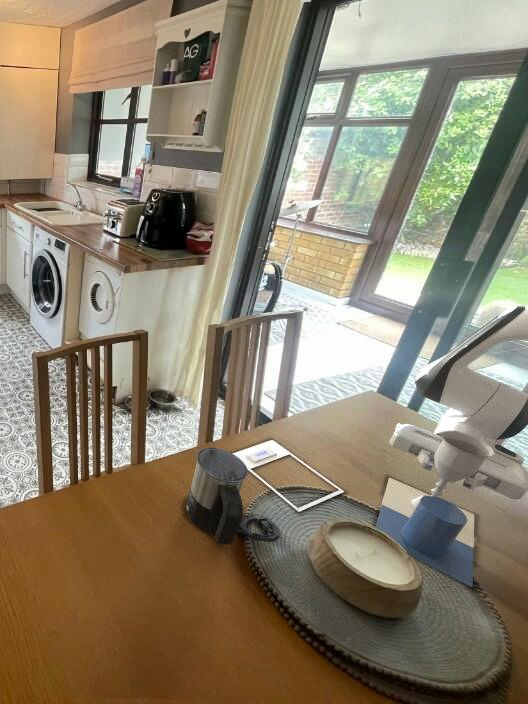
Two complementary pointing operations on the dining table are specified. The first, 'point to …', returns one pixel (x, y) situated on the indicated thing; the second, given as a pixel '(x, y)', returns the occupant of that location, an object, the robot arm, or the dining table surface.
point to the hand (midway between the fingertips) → (447, 476)
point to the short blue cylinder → (433, 526)
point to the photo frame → (272, 452)
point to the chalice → (457, 460)
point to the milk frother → (223, 498)
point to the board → (392, 523)
